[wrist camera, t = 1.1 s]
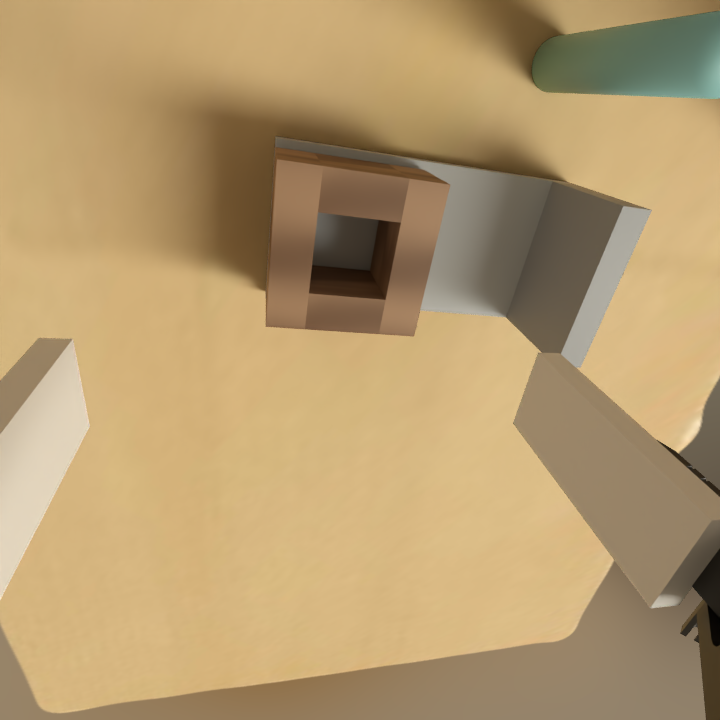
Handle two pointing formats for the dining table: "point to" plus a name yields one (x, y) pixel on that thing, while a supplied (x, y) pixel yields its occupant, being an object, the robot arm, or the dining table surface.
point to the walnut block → (390, 255)
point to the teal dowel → (635, 59)
